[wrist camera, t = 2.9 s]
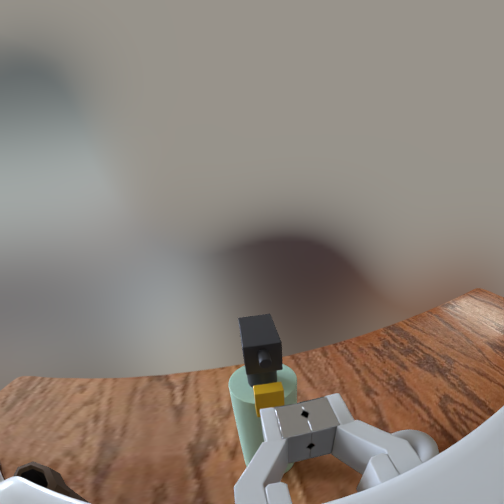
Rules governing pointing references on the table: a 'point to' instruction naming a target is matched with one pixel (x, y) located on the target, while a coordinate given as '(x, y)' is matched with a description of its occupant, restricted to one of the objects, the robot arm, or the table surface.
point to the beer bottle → (46, 479)
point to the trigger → (268, 396)
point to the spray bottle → (258, 379)
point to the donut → (420, 443)
